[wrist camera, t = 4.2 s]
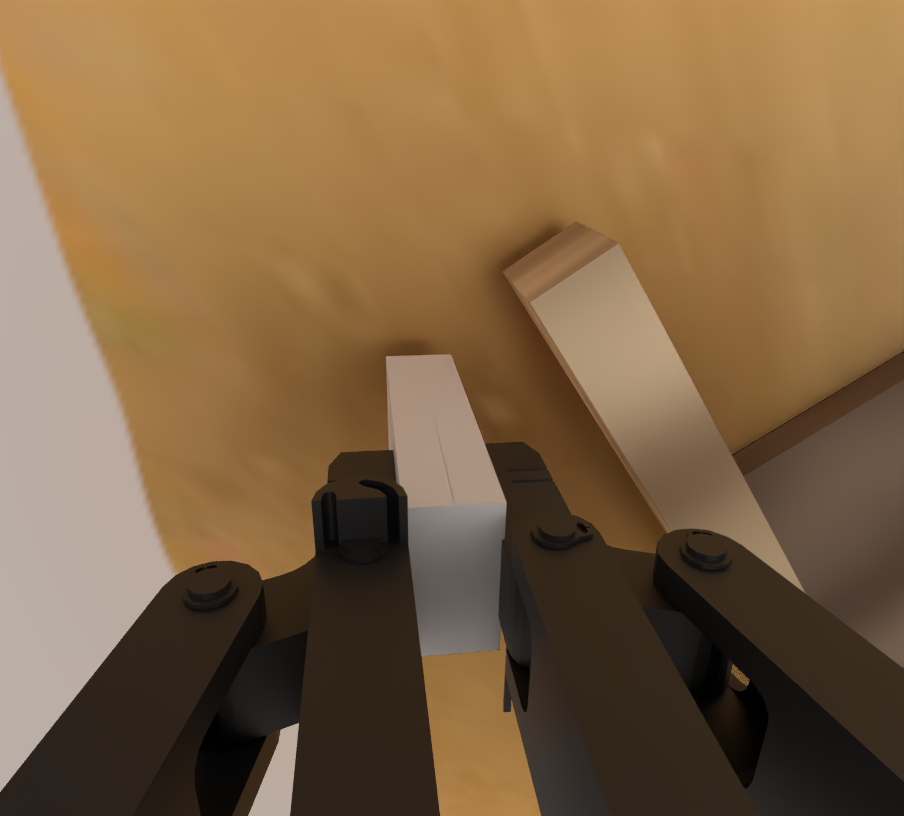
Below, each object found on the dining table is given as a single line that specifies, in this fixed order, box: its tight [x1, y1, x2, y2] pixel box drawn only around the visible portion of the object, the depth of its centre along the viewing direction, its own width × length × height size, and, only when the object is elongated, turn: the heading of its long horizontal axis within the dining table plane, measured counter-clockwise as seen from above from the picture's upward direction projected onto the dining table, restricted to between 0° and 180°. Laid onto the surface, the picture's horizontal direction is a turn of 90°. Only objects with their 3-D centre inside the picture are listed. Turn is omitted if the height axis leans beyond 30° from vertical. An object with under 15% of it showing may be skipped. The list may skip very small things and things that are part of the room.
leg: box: [502, 222, 806, 594], centre depth 17 cm, size 13×2×4 cm, turn 33°
